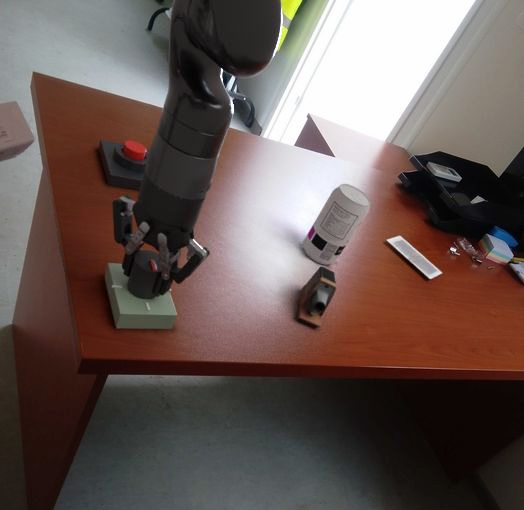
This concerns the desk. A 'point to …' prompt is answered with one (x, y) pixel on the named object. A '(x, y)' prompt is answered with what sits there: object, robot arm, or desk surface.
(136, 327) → the dial panel
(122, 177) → the button base
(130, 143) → the button
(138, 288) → the dial
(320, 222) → the supplement can
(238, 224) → the desk surface
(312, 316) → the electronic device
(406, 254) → the white grey flat block
